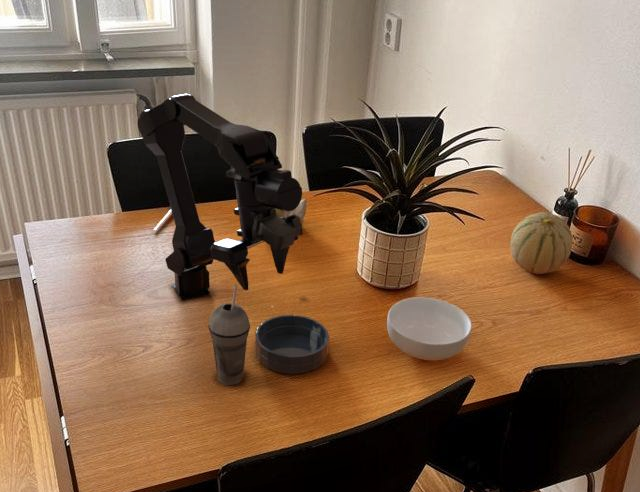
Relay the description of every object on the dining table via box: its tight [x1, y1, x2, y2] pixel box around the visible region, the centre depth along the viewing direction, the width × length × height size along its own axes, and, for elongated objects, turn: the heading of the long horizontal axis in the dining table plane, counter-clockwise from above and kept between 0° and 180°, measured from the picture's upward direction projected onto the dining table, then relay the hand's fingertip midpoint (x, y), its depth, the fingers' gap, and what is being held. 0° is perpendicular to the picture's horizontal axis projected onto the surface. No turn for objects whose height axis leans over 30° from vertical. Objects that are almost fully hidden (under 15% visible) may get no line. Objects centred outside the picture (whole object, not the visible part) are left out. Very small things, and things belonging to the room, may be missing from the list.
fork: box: [152, 208, 173, 233], centre depth 182 cm, size 3×20×2 cm, turn 170°
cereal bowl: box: [386, 296, 473, 361], centre depth 141 cm, size 17×17×7 cm
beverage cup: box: [208, 283, 251, 386], centre depth 124 cm, size 7×7×20 cm
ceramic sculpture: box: [276, 198, 307, 225], centre depth 180 cm, size 11×9×15 cm
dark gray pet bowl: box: [254, 314, 330, 375], centre depth 136 cm, size 14×14×4 cm
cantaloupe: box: [509, 211, 573, 275], centre depth 170 cm, size 15×15×15 cm
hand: (263, 281), depth 135 cm, fingers open, 9 cm apart
